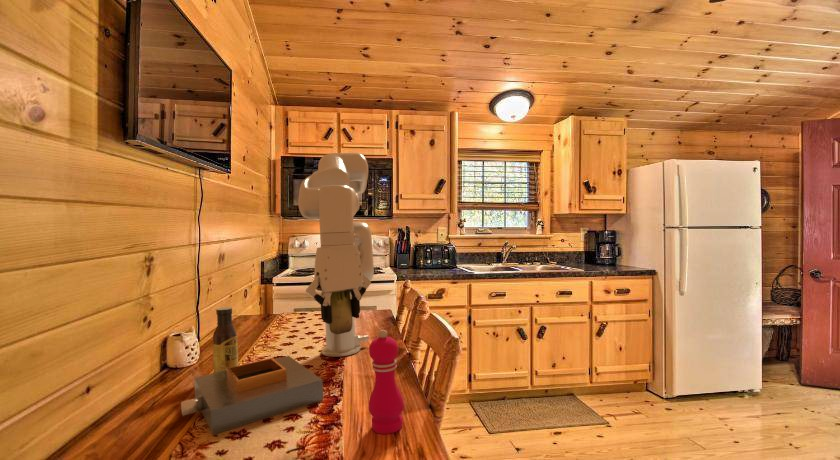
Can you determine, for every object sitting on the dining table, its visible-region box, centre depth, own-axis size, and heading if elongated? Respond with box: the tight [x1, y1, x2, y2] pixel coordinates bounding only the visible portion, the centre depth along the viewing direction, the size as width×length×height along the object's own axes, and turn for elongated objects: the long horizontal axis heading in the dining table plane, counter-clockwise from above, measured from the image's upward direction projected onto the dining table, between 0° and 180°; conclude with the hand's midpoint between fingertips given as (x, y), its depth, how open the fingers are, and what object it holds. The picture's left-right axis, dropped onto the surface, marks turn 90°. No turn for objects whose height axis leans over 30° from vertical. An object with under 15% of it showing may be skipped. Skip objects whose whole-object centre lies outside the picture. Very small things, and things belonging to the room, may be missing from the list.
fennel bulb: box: [329, 290, 352, 334], centre depth 92 cm, size 6×5×12 cm
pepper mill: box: [368, 329, 405, 435], centre depth 83 cm, size 7×7×20 cm
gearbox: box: [180, 355, 324, 436], centre depth 99 cm, size 28×24×8 cm
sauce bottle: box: [212, 306, 239, 373], centre depth 114 cm, size 6×6×20 cm
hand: (341, 319), depth 92 cm, fingers closed on fennel bulb, 6 cm apart
